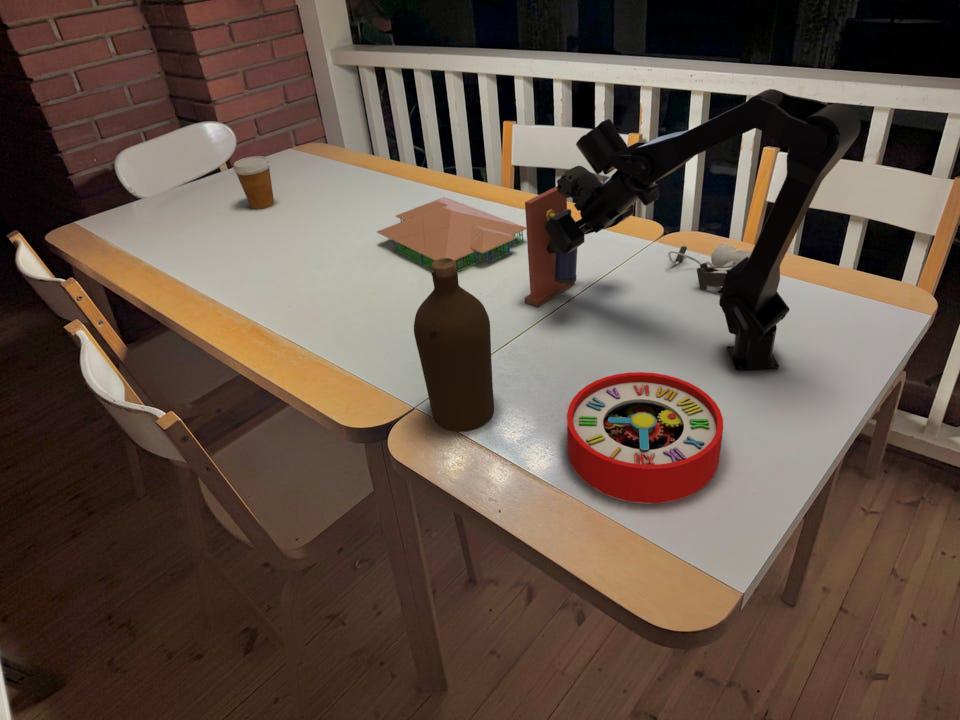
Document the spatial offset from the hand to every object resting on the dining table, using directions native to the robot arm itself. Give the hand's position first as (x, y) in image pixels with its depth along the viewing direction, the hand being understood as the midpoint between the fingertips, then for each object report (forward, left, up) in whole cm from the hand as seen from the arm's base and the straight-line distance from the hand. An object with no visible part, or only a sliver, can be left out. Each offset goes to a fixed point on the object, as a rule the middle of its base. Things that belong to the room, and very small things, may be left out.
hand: (564, 241), depth 126 cm
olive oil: (-35, +17, -11) cm, 40 cm away
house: (+27, +24, -11) cm, 38 cm away
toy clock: (-45, -8, -11) cm, 47 cm away
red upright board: (-1, +2, -11) cm, 11 cm away
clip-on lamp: (+4, -28, -11) cm, 30 cm away
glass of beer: (+60, +78, -11) cm, 100 cm away
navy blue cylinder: (-2, 0, -7) cm, 7 cm away
